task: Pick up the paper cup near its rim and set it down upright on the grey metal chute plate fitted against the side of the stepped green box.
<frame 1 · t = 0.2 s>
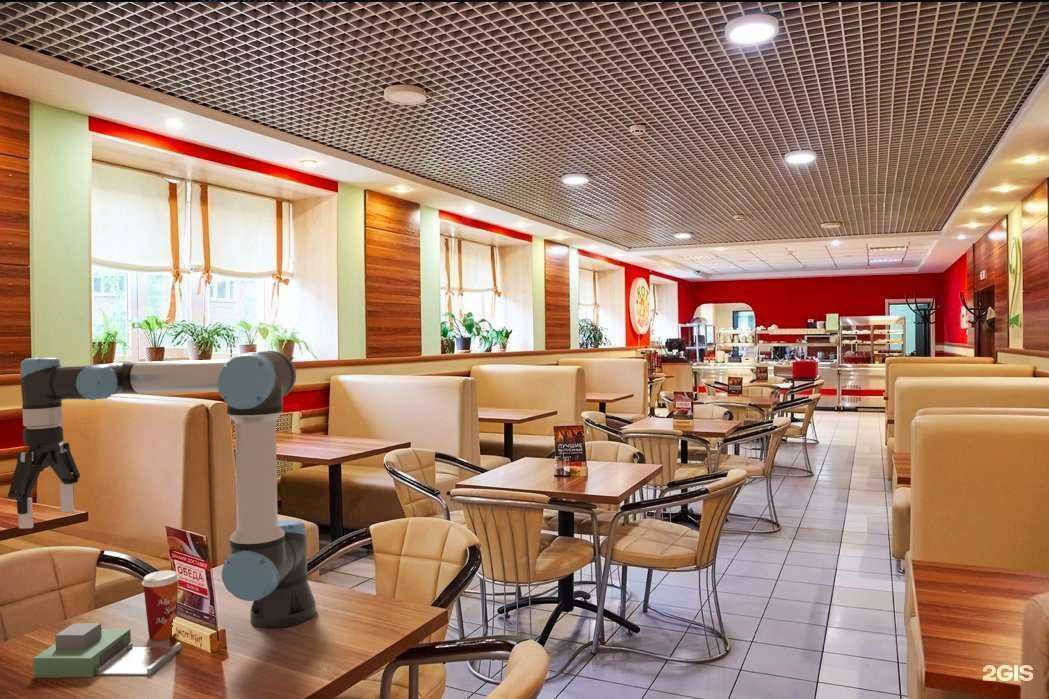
hand: (47, 519, 167), 28 cm above the table, fingers open, 13 cm apart
paper cup: (163, 636, 169), on the table
stepped green box: (84, 661, 156), on the table
chute plate: (139, 661, 156), on the table
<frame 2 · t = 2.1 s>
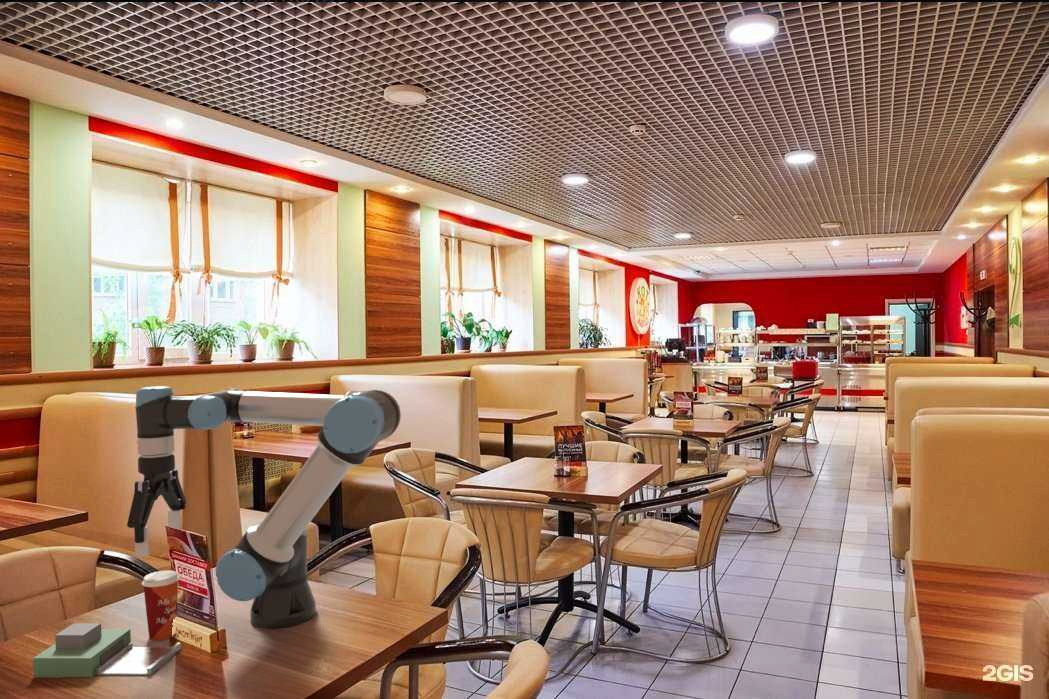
hand: (159, 546, 168), 20 cm above the table, fingers open, 13 cm apart
nothing on the table moved.
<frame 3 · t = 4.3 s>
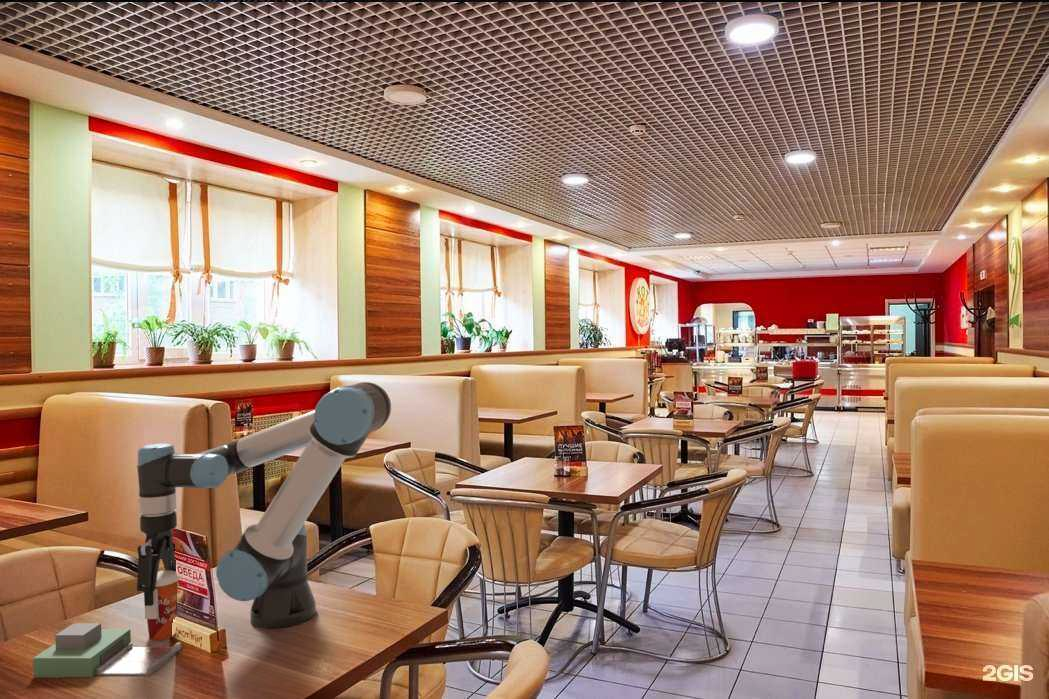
hand: (162, 610, 169), 6 cm above the table, fingers closed on paper cup, 8 cm apart
paper cup: (163, 635, 169), on the table, touching gripper
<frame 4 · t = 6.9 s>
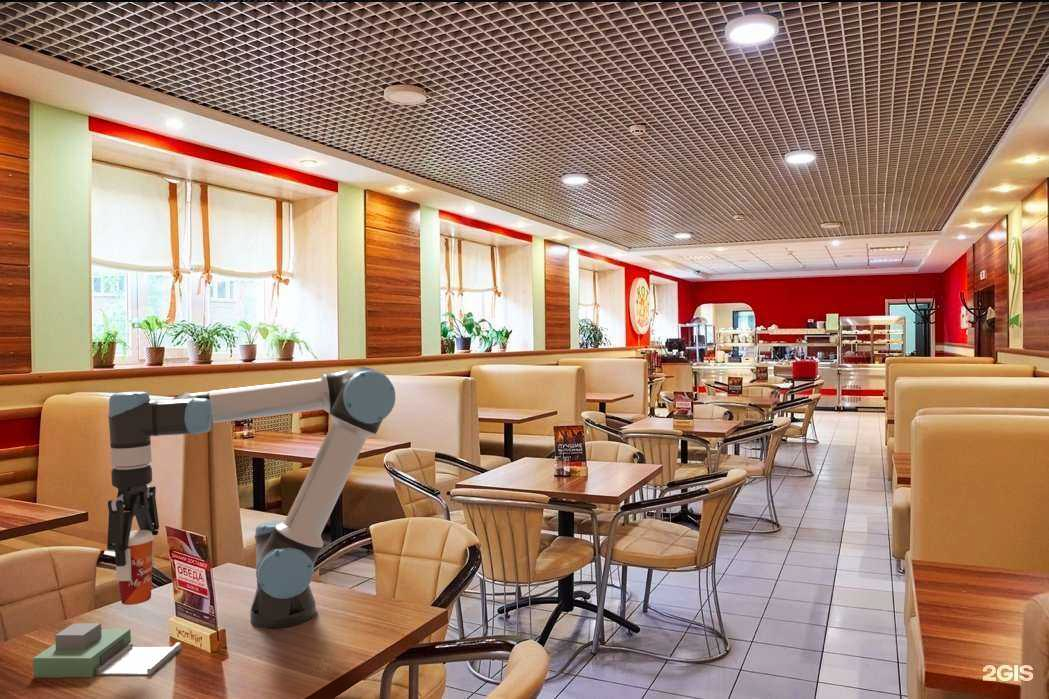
hand: (135, 573, 155), 19 cm above the table, fingers closed on paper cup, 8 cm apart
paper cup: (136, 600, 155), point 13 cm above the table, touching gripper
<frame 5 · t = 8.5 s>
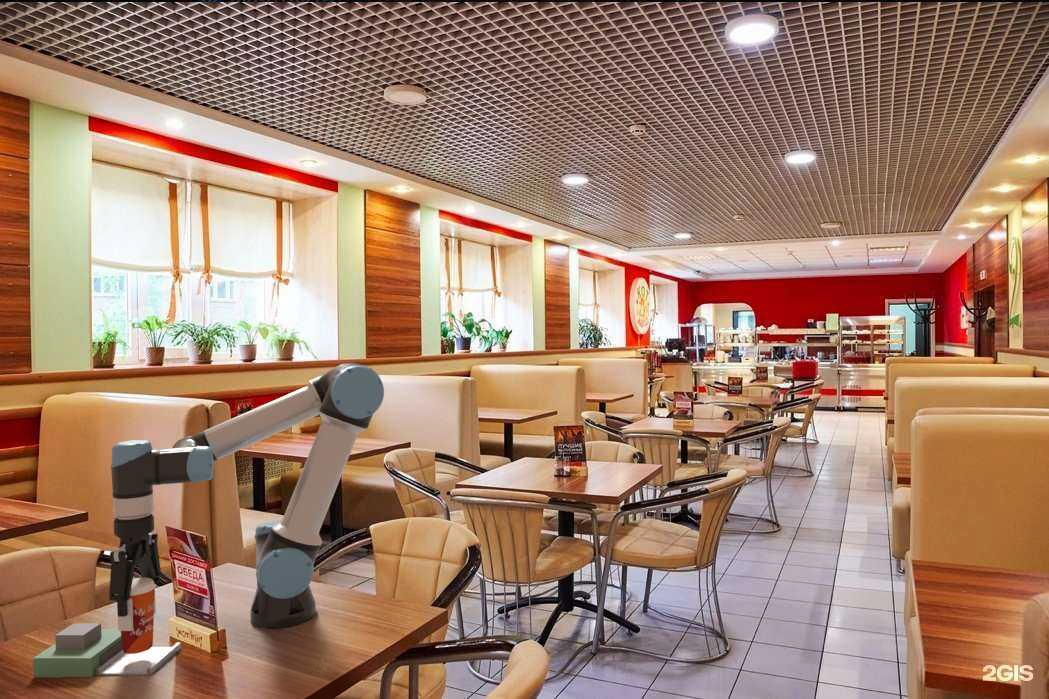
hand: (137, 621, 156), 9 cm above the table, fingers closed on paper cup, 8 cm apart
paper cup: (138, 648, 156), point 3 cm above the table, touching gripper
when the fingers open (7 cm above the table, at t = 9.7 s): paper cup drops 1 cm, resting on chute plate.
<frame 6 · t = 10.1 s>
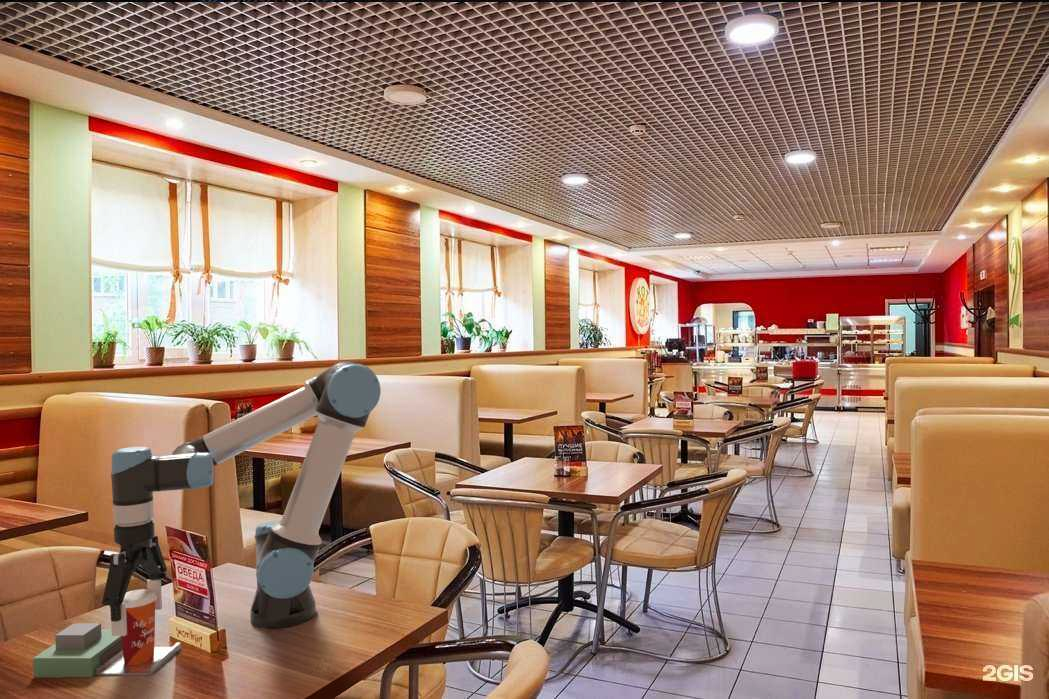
hand: (138, 621, 156), 9 cm above the table, fingers open, 13 cm apart
paper cup: (139, 660, 156), resting on chute plate
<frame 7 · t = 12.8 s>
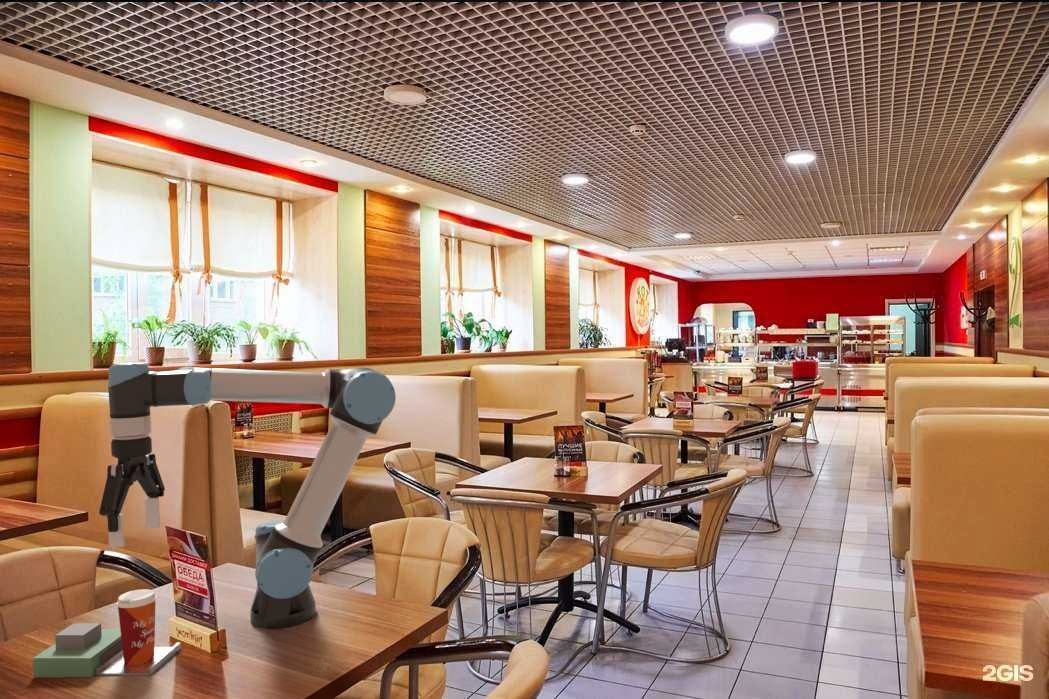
hand: (135, 536, 155), 27 cm above the table, fingers open, 13 cm apart
nothing on the table moved.
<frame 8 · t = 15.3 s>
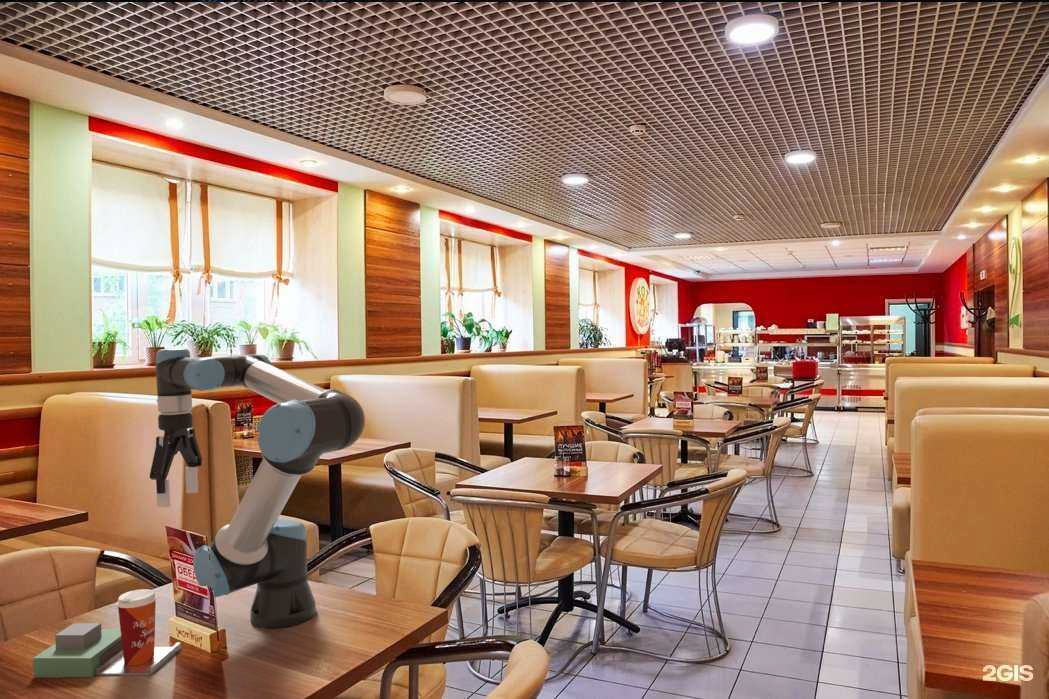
hand: (178, 499, 179), 29 cm above the table, fingers open, 13 cm apart
nothing on the table moved.
at the end: paper cup inside the target area (0.0 cm from its centre), resting on chute plate; paper cup tilted 0°; the gripper is holding nothing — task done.
